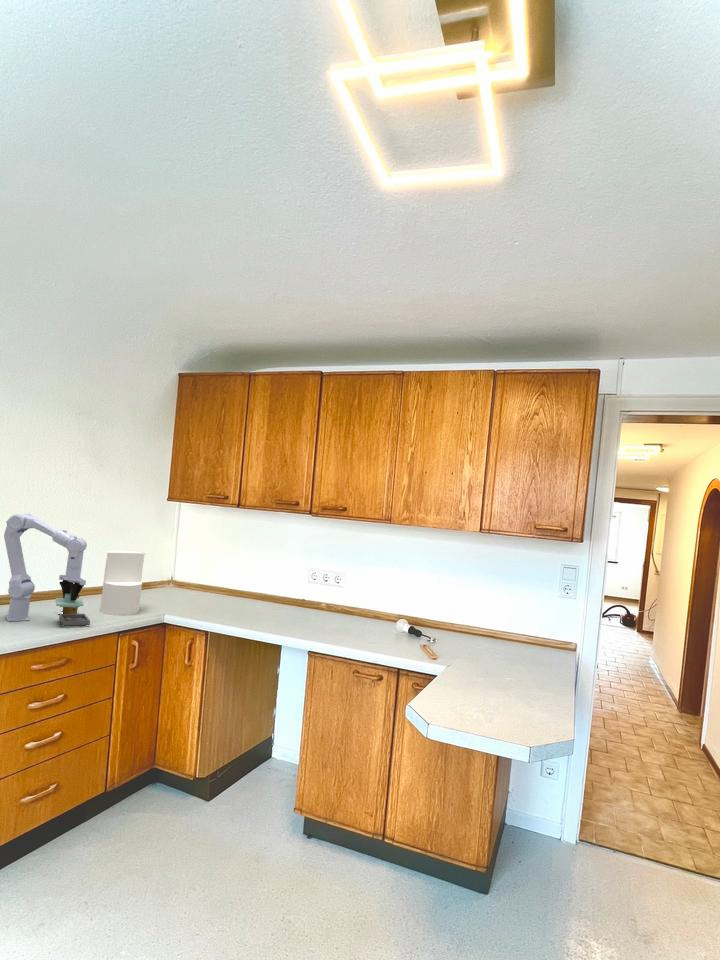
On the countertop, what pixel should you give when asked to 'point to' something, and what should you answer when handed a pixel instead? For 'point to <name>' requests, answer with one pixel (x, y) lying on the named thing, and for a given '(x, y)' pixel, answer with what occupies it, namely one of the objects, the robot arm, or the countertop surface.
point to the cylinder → (122, 582)
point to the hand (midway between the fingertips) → (69, 599)
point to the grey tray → (74, 619)
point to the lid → (68, 602)
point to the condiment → (70, 609)
